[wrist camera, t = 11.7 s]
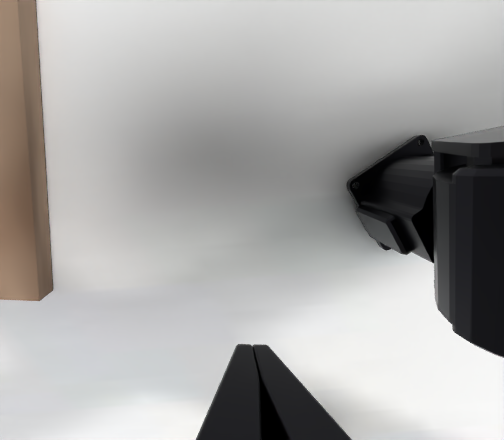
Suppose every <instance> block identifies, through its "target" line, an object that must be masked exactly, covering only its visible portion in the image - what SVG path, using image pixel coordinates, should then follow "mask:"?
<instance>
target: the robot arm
mask: <svg viewBox="0 0 504 440" xmlns="http://www.w3.org/2000/svg"><path fill="white" fill-rule="evenodd" d="M418 140H420V145H418ZM433 151H434V154H433ZM355 182H356V184H357V186H356V187H355V188H353V184H354V183H355ZM347 188H348V190H349V192H350V194H351V196H352V197H353V199H354V201H355V203H356V205H357V206H358V207H357V208H356V212H357V214H358V216H359V218H360V220H361V221H362V223H363V225H364V227H365V228H366V230H367V232H368V234H369V236H370V237H372V238H374V239H376V241H377V242H378V244H379V246H380V247H381V248H382V249H384V250H390V249H391V248H392V249H394V250H396V251H397V252H399V253H401V254H405V255H407V254H409V253H410V252H413V253H415V254H417V255H418V256H420V257H422V258H424V259H426V260H428V261H430V262H432V263H434V277H435V280H434V288H435V300H436V304H437V307H438V310H439V311H440V312H441V313H442V314H443V315H444V317H445V318H446V319H447V320H448V321H449V322H450V323H451V324H452V328H453V331H454V332H455V333H456V334H458V335H459V336H461V337H462V338H464V339H466V340H467V341H469V342H470V343H472V344H474V345H475V346H477V347H479V348H482V349H484V350H486V351H488V352H490V353H492V354H494V355H497V356H500V357H503V358H504V126H501V127H496V128H491V129H486V130H481V131H476V132H471V133H467V134H462V135H457V136H452V137H447V138H442V139H437V140H433V141H432V149H431V147H430V144H429V142H428V140H427V138H426V137H425V136H424V135H418V136H415V137H413V138H412V139H410V140H409V141H407V142H406V143H404V144H403V145H401V146H400V147H398V148H397V149H395V150H394V151H392V152H391V153H389V154H388V155H386V156H385V157H383V158H382V159H380V160H379V161H377V162H376V163H374V164H373V165H371V166H370V167H368V168H367V169H365V170H364V171H362V172H361V173H359V174H358V175H356V176H355V177H353V178H352V179H350V180H349V181H348V183H347ZM196 440H352V439H351V438H350V437H349V436H348V435H347V434H346V433H345V431H344V430H343V429H342V428H341V427H340V426H339V425H338V424H337V423H336V421H335V420H334V419H333V418H332V417H331V416H330V415H329V414H328V412H327V411H326V410H325V409H324V408H323V407H322V406H321V405H320V403H319V402H318V401H317V400H316V399H315V398H314V397H313V396H312V394H311V393H310V392H309V391H308V390H307V389H306V388H305V387H304V386H303V384H302V383H301V382H300V381H299V380H298V379H297V378H296V377H295V375H294V374H293V373H292V372H291V371H290V370H289V369H288V368H287V366H286V365H285V364H284V363H283V362H282V361H281V360H280V359H279V357H278V356H277V355H276V354H275V353H274V352H273V351H272V350H271V349H270V347H269V346H267V345H253V346H251V345H250V344H238V345H237V346H236V348H235V350H234V352H233V355H232V357H231V359H230V362H229V364H228V366H227V369H226V371H225V373H224V376H223V378H222V380H221V383H220V385H219V387H218V390H217V392H216V394H215V396H214V399H213V401H212V403H211V406H210V408H209V410H208V413H207V415H206V417H205V420H204V422H203V424H202V427H201V429H200V431H199V433H198V436H197V438H196Z"/></svg>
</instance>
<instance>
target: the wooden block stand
mask: <svg viewBox="0 0 504 440" xmlns="http://www.w3.org/2000/svg"><path fill="white" fill-rule="evenodd" d="M51 291H53V282H52V265H51V249H50V232H49V216H48V199H47V182H46V166H45V149H44V133H43V116H42V99H41V83H40V66H39V50H38V33H37V16H36V0H0V299H3V300H27V301H40V300H41V299H43V298H44V297H45V296H46V295H48V294H49V293H50V292H51Z"/></svg>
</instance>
